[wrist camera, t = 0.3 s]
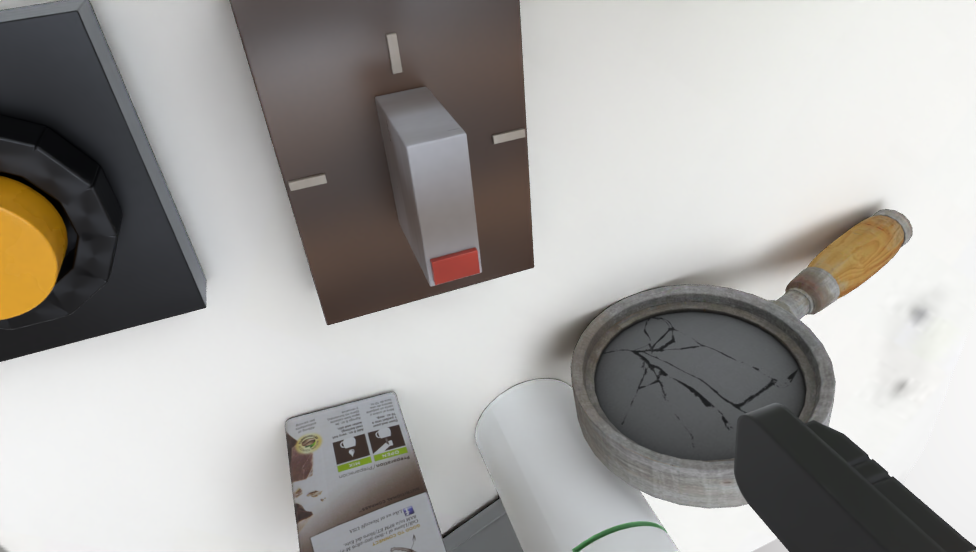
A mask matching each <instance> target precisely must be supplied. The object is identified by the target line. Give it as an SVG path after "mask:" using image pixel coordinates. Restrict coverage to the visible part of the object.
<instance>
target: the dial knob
mask: <svg viewBox="0 0 976 552" xmlns="http://www.w3.org/2000/svg"><path fill="white" fill-rule="evenodd" d="M375 101H376V106H377V112H378V117H379V122H380V127H381V132H382V137H383V143H384V148H385V153H386V158H387V163H388V168H389V174H390V179H391V184H392V189H393V194H394V199H395V205H396V210H397V215H398V220H399V224H400V226H401V228H402V230H403V232H404V234H405V236H406V238H407V240H408V242H409V244H410V246H411V248H412V250H413V252H414V254H415V256H416V258H417V260H418V262H419V264H420V266H421V269H422V271H423V273H424V275H425V277H426V279H427V281H428V283H429V285H430V286H435V285H439V284H442V283H446V282H450V281H453V280H457V279H460V278H464V277H468V276H471V275H475V274H478V273H481V272H482V268H481V259H480V250H479V241H478V232H477V223H476V214H475V205H474V197H473V188H472V179H471V170H470V161H469V152H468V143H467V135H466V133H465V131H464V130H463V129H462V128H461V127H460V126H459V124H458V123H457V122H456V121H455V120H454V119H453V117H452V116H451V115H450V114H449V113H448V112H447V111H446V109H445V108H444V107H443V106H442V105H441V104H440V102H439V101H438V100H437V99H436V98H435V97H434V95H433V94H432V93H431V92H430V91H429V90H428V88H427V87H420V88H415V89H410V90H406V91H401V92H396V93H391V94H386V95H381V96H376V97H375Z"/></svg>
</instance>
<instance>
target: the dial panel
mask: <svg viewBox="0 0 976 552" xmlns="http://www.w3.org/2000/svg"><path fill="white" fill-rule="evenodd" d="M229 1H230V4H231V8H232V11H233V14H234V17H235V21H236V24H237V27H238V31H239V34H240V37H241V41H242V44H243V47H244V51H245V54H246V57H247V61H248V64H249V67H250V71H251V74H252V77H253V81H254V84H255V87H256V91H257V94H258V97H259V101H260V104H261V107H262V111H263V114H264V117H265V121H266V124H267V127H268V131H269V134H270V137H271V140H272V144H273V147H274V150H275V154H276V157H277V160H278V164H279V167H280V170H281V174H282V177H283V180H284V184H285V187H286V190H287V194H288V197H289V200H290V204H291V207H292V210H293V214H294V217H295V220H296V224H297V227H298V230H299V234H300V237H301V240H302V244H303V247H304V250H305V253H306V257H307V260H308V263H309V267H310V270H311V273H312V277H313V280H314V283H315V287H316V290H317V293H318V297H319V300H320V303H321V307H322V310H323V313H324V317H325V320H326V323H327V325H331V324H334V323H338V322H342V321H345V320H349V319H352V318H356V317H359V316H363V315H366V314H370V313H374V312H377V311H381V310H384V309H388V308H391V307H395V306H399V305H402V304H406V303H409V302H413V301H416V300H420V299H424V298H427V297H431V296H434V295H438V294H441V293H445V292H448V291H452V290H456V289H459V288H463V287H466V286H470V285H473V284H477V283H481V282H484V281H488V280H491V279H495V278H498V277H502V276H506V275H509V274H513V273H516V272H520V271H523V270H527V269H530V268H534V255H533V237H532V219H531V201H530V183H529V165H528V146H527V128H526V110H525V92H524V74H523V56H522V37H521V19H520V1H519V0H229ZM420 87H427V88H428V90H429V91H430V92H431V93H432V94H433V95H434V97H435V98H436V99H437V100H438V101H439V102H440V104H441V105H442V106H443V107H444V108H445V109H446V111H447V112H448V113H449V114H450V115H451V116H452V117H453V119H454V120H455V121H456V122H457V123H458V124H459V126H460V127H461V128H462V129H463V130H464V131H465V133H466V135H467V143H468V152H469V161H470V170H471V179H472V188H473V197H474V205H475V214H476V223H477V232H478V241H479V250H480V259H481V268H482V272H481V273H478V274H475V275H471V276H468V277H464V278H460V279H457V280H453V281H450V282H446V283H442V284H439V285H435V286H430V285H429V283H428V281H427V279H426V277H425V275H424V273H423V271H422V269H421V266H420V264H419V262H418V260H417V258H416V256H415V254H414V252H413V250H412V248H411V246H410V244H409V242H408V240H407V238H406V236H405V234H404V232H403V230H402V228H401V226H400V224H399V220H398V215H397V210H396V205H395V199H394V194H393V189H392V184H391V179H390V174H389V168H388V163H387V158H386V153H385V148H384V143H383V137H382V132H381V127H380V122H379V117H378V112H377V106H376V101H375V97H376V96H381V95H386V94H391V93H396V92H401V91H406V90H410V89H415V88H420Z"/></svg>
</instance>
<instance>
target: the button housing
mask: <svg viewBox="0 0 976 552" xmlns="http://www.w3.org/2000/svg"><path fill="white" fill-rule="evenodd" d="M0 176H4V177H8V178H10V179H13V180H16V181H19V182H21V183H23V184H25V185H27V186H29V187H31V188H32V189H34V190H36V191H37V192H38V193H40V194H41V195H42V196H44V197H45V198H46V199H47V200H48V201H49V202H50V203H51V204H52V205H53V206H54V207H55V209H56V210H57V211H58V213H59V214H60V216H61V217H62V219H63V222H64V224H65V227H66V230H67V236H68V245H67V250H66V254H65V257H64V260H63V263H62V266H61V269H60V272H59V274H58V277H57V280H56V283H55V285H54V287H53V290H52V291H51V292H50V294H49V295H48V297H47V298H46V299H45V300H44V301H43V302H42V303H40V304H39V305H38V306H36V307H35V308H33V309H31V310H30V311H28V312H26V313H23V314H21V315H19V316H15V317H12V318H8V319H3V320H0V362H2V361H6V360H9V359H13V358H17V357H21V356H25V355H28V354H32V353H36V352H40V351H44V350H47V349H51V348H55V347H59V346H63V345H66V344H70V343H74V342H78V341H82V340H85V339H89V338H93V337H97V336H101V335H104V334H108V333H112V332H116V331H120V330H123V329H127V328H131V327H135V326H139V325H142V324H146V323H150V322H154V321H158V320H161V319H165V318H169V317H173V316H177V315H180V314H184V313H188V312H192V311H195V310H199V309H203V308H206V278H205V275H204V273H203V271H202V268H201V266H200V263H199V261H198V259H197V256H196V254H195V252H194V249H193V247H192V244H191V242H190V240H189V237H188V235H187V232H186V230H185V228H184V225H183V223H182V221H181V218H180V216H179V213H178V211H177V209H176V206H175V204H174V201H173V199H172V197H171V194H170V192H169V190H168V187H167V185H166V182H165V180H164V178H163V175H162V173H161V171H160V168H159V166H158V163H157V161H156V159H155V156H154V154H153V151H152V149H151V147H150V144H149V142H148V140H147V137H146V135H145V132H144V130H143V128H142V125H141V123H140V120H139V118H138V116H137V113H136V111H135V109H134V106H133V104H132V101H131V99H130V97H129V94H128V92H127V90H126V87H125V85H124V82H123V80H122V78H121V75H120V73H119V70H118V68H117V66H116V63H115V61H114V59H113V56H112V54H111V51H110V49H109V47H108V44H107V42H106V39H105V37H104V35H103V32H102V30H101V28H100V25H99V23H98V20H97V18H96V16H95V13H94V11H93V8H92V6H91V4H90V1H89V0H64V1H57V2H51V3H44V4H38V5H31V6H25V7H19V8H12V9H6V10H0Z"/></svg>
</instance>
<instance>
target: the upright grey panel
mask: <svg viewBox="0 0 976 552" xmlns="http://www.w3.org/2000/svg"><path fill="white" fill-rule="evenodd" d="M443 541H444V544H445V547H446V550H447V552H524V551H523V549H522V547H521V545H520V542H519V540H518V538H517V535H516V533H515V531H514V529H513V526H512V524H511V522H510V519H509V517H508V515H507V513H506V510H505V508H504V506H503V503H502V501H501V499H498V500H497V501H495V502H494V503H493V504H491V505H490V506H488V507H487V508H486V509H484V510H483V511H481V512H480V513H479V514H477V515H476V516H474V517H473V518H471V519H470V520H469V521H467V522H466V523H464V524H463V525H462V526H460V527H459V528H457V529H456V530H455V531H453V532H452V533H450V534H449V535H448V536H446V537H445V538H443Z"/></svg>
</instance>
